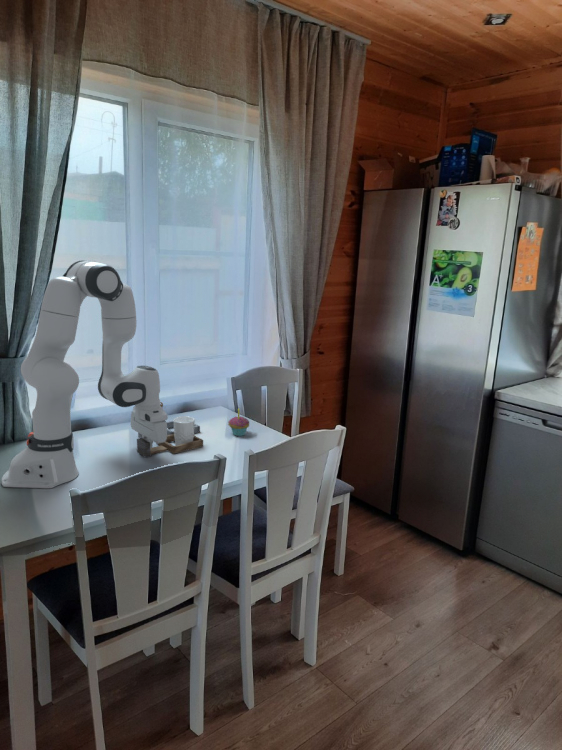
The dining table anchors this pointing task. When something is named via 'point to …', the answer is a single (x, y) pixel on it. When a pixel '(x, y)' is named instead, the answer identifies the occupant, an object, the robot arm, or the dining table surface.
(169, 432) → the grey frame
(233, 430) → the cupcake
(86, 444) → the dining table surface
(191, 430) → the white cup
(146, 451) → the walnut frame
